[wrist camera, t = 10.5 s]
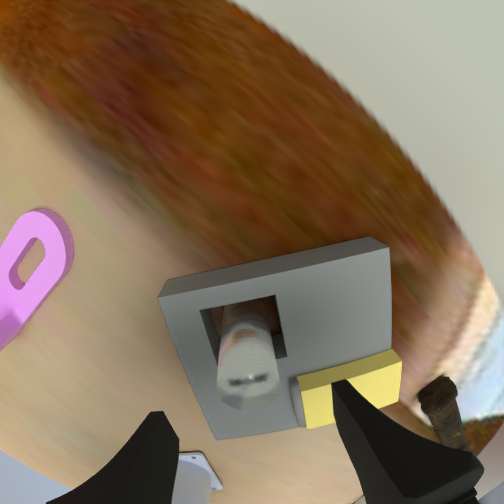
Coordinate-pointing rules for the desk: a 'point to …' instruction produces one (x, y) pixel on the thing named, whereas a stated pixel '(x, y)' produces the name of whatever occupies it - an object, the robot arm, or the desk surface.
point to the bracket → (45, 276)
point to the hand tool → (444, 412)
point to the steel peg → (247, 357)
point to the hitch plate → (284, 322)
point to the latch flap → (361, 378)
